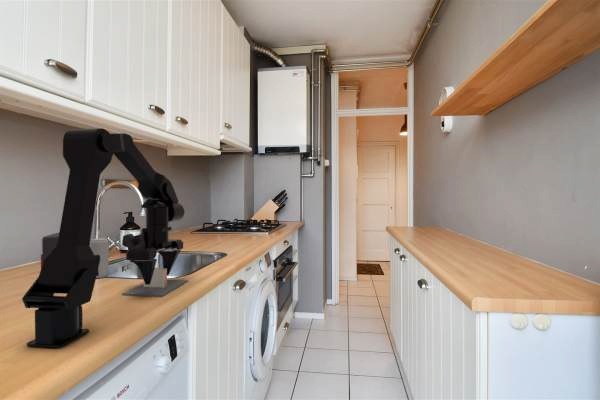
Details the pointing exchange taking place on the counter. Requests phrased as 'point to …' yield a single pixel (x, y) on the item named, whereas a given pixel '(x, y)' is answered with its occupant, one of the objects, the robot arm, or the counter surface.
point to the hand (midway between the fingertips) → (157, 279)
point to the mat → (155, 289)
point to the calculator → (48, 245)
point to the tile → (158, 278)
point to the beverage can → (101, 255)
